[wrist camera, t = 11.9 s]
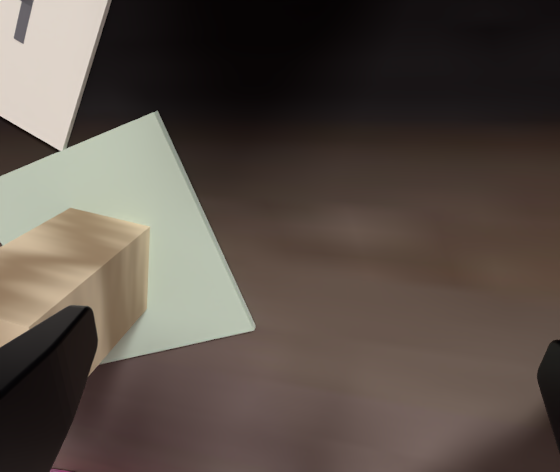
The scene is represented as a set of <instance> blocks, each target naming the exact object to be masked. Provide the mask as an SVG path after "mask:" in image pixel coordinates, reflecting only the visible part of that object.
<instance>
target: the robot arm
mask: <svg viewBox="0 0 560 472" xmlns="http://www.w3.org/2000/svg"><path fill="white" fill-rule="evenodd" d="M97 346H98V335H97V330H96V324H95V318H94V313H93V310H92V308H91V307H89V306H80V305H69V306H67V307H65V308H64V309H62V310H60V311H59V312H57V313H55V314H54V315H52V316H51V317H49V318H47V319H46V320H44V321H42V322H41V323H39V324H37V325H36V326H34V327H33V328H31V329H29V330H28V331H26V332H24V333H23V334H21V335H20V336H18V337H16V338H15V339H13V340H11V341H10V342H8V343H6V344H5V345H3V346H2V347H0V472H50V470H51V468H52V466H53V464H54V461H55V459H56V457H57V455H58V453H59V451H60V448H61V446H62V444H63V442H64V440H65V438H66V435H67V433H68V431H69V429H70V426H71V424H72V422H73V419H74V416H75V414H76V411H77V408H78V405H79V402H80V399H81V396H82V393H83V390H84V387H85V384H86V381H87V378H88V375H89V372H90V369H91V366H92V363H93V360H94V357H95V354H96V351H97ZM537 379H538V384H539V387H540V391H541V394H542V397H543V401H544V404H545V407H546V411H547V414H548V417H549V421H550V424H551V427H552V430H553V434H554V437H555V440H556V444H557V447H558V450H559V453H560V340H554V341H552V342H551V343H550V344H549V346H548V349H547V351H546V353H545V355H544V357H543V360H542V362H541V364H540V366H539V369H538V373H537Z"/></svg>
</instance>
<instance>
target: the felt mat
mask: <svg viewBox="0 0 560 472" xmlns="http://www.w3.org/2000/svg"><path fill="white" fill-rule="evenodd" d="M69 208H74V209H78V210H82V211H87V212H91V213H95V214H99V215H103V216H108V217H112V218H116V219H120V220H125V221H129V222H133V223H137V224H142V225H146V226H150V243H149V269H148V295H147V309H146V311H145V312H144V313H143V314H142V315H141V316H140V317H139V319H138V320H137V321H136V322H135V323H134V324H133V326H132V327H131V328H130V329H129V330H128V331H127V333H126V334H125V335H124V336H123V337H122V338H121V339H120V341H119V342H118V343H117V344H116V345H115V346H114V348H113V349H112V350H111V351H110V352H109V353H108V355H107V356H106V357H105V358H104V359H103V360H102V361H101V363H100V364H104V363H109V362H113V361H118V360H122V359H127V358H132V357H136V356H141V355H145V354H150V353H154V352H159V351H163V350H168V349H172V348H177V347H181V346H186V345H190V344H195V343H200V342H204V341H209V340H213V339H218V338H222V337H227V336H231V335H236V334H240V333H245V332H249V331H254V329H255V327H256V326H255V323H254V321H253V319H252V317H251V315H250V312H249V310H248V308H247V306H246V304H245V301H244V299H243V297H242V295H241V293H240V290H239V288H238V286H237V284H236V282H235V279H234V277H233V275H232V273H231V271H230V268H229V266H228V264H227V262H226V260H225V257H224V255H223V253H222V251H221V249H220V247H219V244H218V242H217V240H216V238H215V236H214V233H213V231H212V229H211V227H210V225H209V222H208V220H207V218H206V216H205V214H204V211H203V209H202V207H201V205H200V203H199V200H198V198H197V196H196V194H195V192H194V189H193V187H192V185H191V183H190V181H189V178H188V176H187V174H186V172H185V170H184V167H183V165H182V163H181V161H180V159H179V156H178V154H177V152H176V150H175V148H174V146H173V143H172V141H171V139H170V137H169V135H168V132H167V130H166V128H165V126H164V124H163V121H162V119H161V117H160V115H159V113H158V111H156V112H153V113H151V114H148V115H146V116H143V117H141V118H139V119H136V120H134V121H131V122H129V123H127V124H124V125H122V126H120V127H117V128H115V129H112V130H110V131H108V132H105V133H103V134H100V135H98V136H96V137H93V138H91V139H88V140H86V141H84V142H81V143H79V144H76V145H74V146H72V147H69V148H67V149H65V150H62V151H60V152H57V153H55V154H53V155H50V156H48V157H45V158H43V159H41V160H38V161H36V162H33V163H31V164H29V165H26V166H24V167H22V168H19V169H17V170H14V171H12V172H10V173H7V174H5V175H2V176H0V242H1V244H2V245H5V244H7V243H9V242H10V241H12V240H14V239H16V238H18V237H19V236H21V235H23V234H25V233H26V232H28V231H30V230H32V229H34V228H35V227H37V226H39V225H41V224H42V223H44V222H46V221H48V220H49V219H51V218H53V217H55V216H57V215H58V214H60V213H62V212H64V211H65V210H67V209H69ZM100 364H99V365H100Z"/></svg>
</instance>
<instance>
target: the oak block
mask: <svg viewBox="0 0 560 472" xmlns="http://www.w3.org/2000/svg"><path fill="white" fill-rule="evenodd" d="M149 243H150V226H146V225H142V224H137V223H133V222H129V221H125V220H120V219H116V218H112V217H108V216H103V215H99V214H95V213H91V212H87V211H82V210H78V209H74V208H69V209H67V210H65V211H64V212H62V213H60V214H58V215H57V216H55V217H53V218H51V219H49V220H48V221H46V222H44V223H42V224H41V225H39V226H37V227H35V228H34V229H32V230H30V231H28V232H26V233H25V234H23V235H21V236H19V237H18V238H16V239H14V240H12V241H10V242H9V243H7V244H5V245H3V246H2V247H0V347H2V346H3V345H5V344H6V343H8V342H10V341H11V340H13V339H15V338H16V337H18V336H20V335H21V334H23V333H24V332H26V331H28V330H29V329H31V328H33V327H34V326H36V325H37V324H39V323H41V322H42V321H44V320H46V319H47V318H49V317H51V316H52V315H54V314H55V313H57V312H59V311H60V310H62V309H64V308H65V307H67V306H69V305H80V306H89V307H91V308H92V310H93V313H94V318H95V324H96V330H97V335H98V346H97V351H96V354H95V357H94V360H93V363H92V366H91V369H90V372H89V375H90V374H91V373H92V372H93V371H94V370H95V368H96V367H97V366H98V365H99V364H100V363H101V361H102V360H103V359H104V358H105V357H106V356H107V355H108V353H109V352H110V351H111V350H112V349H113V348H114V346H115V345H116V344H117V343H118V342H119V341H120V339H121V338H122V337H123V336H124V335H125V334H126V333H127V331H128V330H129V329H130V328H131V327H132V326H133V324H134V323H135V322H136V321H137V320H138V319H139V317H140V316H141V315H142V314H143V313H144V312H145V311H146V309H147V295H148V269H149ZM89 375H88V376H89Z"/></svg>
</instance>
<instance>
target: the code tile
mask: <svg viewBox="0 0 560 472" xmlns="http://www.w3.org/2000/svg"><path fill="white" fill-rule="evenodd" d="M111 1H112V0H0V116H1V117H3V118H5V119H6V120H8V121H10V122H11V123H13V124H15V125H17V126H18V127H20V128H22V129H24V130H25V131H27V132H29V133H30V134H32V135H34V136H36V137H37V138H39V139H41V140H43V141H44V142H46V143H48V144H49V145H51V146H53V147H55V148H56V149H58V150H60V151H62V150H65V149H66V148H67V144H68V141H69V138H70V135H71V131H72V128H73V125H74V121H75V118H76V115H77V112H78V108H79V105H80V102H81V99H82V95H83V92H84V89H85V86H86V82H87V79H88V76H89V73H90V69H91V66H92V63H93V59H94V56H95V53H96V50H97V46H98V43H99V40H100V37H101V33H102V30H103V27H104V24H105V20H106V17H107V14H108V10H109V7H110V4H111Z"/></svg>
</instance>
